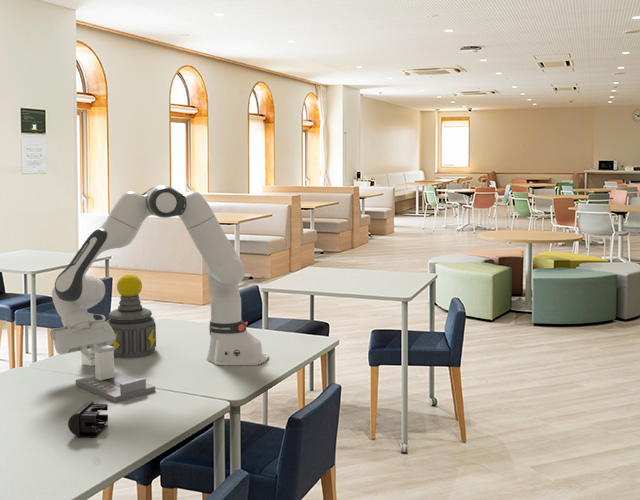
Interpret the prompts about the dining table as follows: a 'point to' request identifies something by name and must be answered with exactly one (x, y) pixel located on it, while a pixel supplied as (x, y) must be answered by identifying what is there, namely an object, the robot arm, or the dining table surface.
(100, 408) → the end cap
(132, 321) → the decorative lamp
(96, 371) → the fader tab
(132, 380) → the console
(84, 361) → the jar
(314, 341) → the dining table surface
